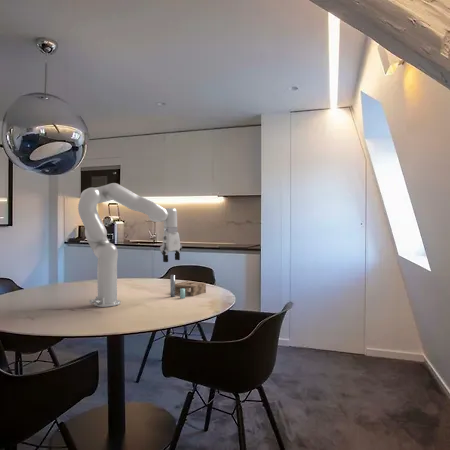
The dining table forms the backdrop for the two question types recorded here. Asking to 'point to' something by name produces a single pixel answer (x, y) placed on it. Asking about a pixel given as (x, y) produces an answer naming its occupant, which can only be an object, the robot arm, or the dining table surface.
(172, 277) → the long pin
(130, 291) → the dining table surface
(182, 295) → the short pin
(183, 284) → the bridge
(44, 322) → the dining table surface
